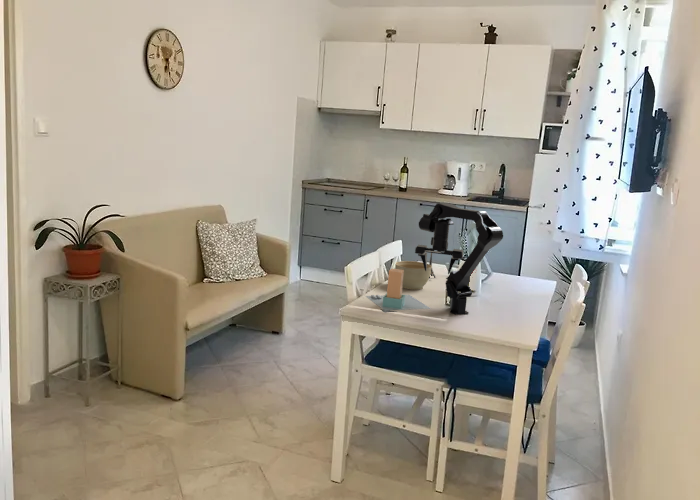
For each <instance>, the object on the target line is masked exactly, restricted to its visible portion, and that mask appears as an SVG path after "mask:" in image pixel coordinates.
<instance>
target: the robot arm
mask: <svg viewBox="0 0 700 500" xmlns="http://www.w3.org/2000/svg"><path fill="white" fill-rule="evenodd" d="M452 218H456V219H460V220H461V219H462V220H468V221H473V222H474V223H475V230H476V232H477V233H478V235H477V237H476V238H477V240H476V241H477V243H476V245H475V246H474V248H473V249H472V250H471V252H470V253H469V255H468V256H467V258H466V259H465V261H464V263H463V264H461V267H460V268H459V270H453V271H451V270H452V268H453V266H454V265H455V262H456V261H459V260H462V259H463V257H464V250H463V249H460V248H453V249H452V250H449V231H450V226H451V225H455V222H454V221H452ZM418 227H419V229H420V230H421V231H425V232H430V233H433V236H432V237H431V239H430V240H431V241H430V246H432V247H428V245H425V244H424V245H423V244H418V245H416V246H415V248H414V253H415V254H417V256H418V257H420V259H421V261H422V263H423V265H424V268H425V271H427V264H428V253H430V254H431V253H432V254H438V255H446V256H451V259H450V262H449V265H448V270H447V275H448V276H447V277H446V278H445V279H446V280H445V288H446V289H445V290H446V294H447V297H449V298H450V304H449V305H450V306H449V308H450V313H452V314H454V315H467V314H469V311H467V310H466V308H467V300H468V298H471V297H472V295H473V290H472V291H471V289H470V287H469V282H470V276H471V274H472V273H473V271H474V270H477V267H478V266H479V264H480V263H481V261H482V260H483V259H484V257H486V254H487V253H488V251H490V250H491V249H493V248H494V247H495V246H497V245H498V244H500V242H501V241H502V240H503V239H504V233H503V230H502V228H501V227H500V226H499V225H498V223H497V222H496V221H495V220H494V219H493V218H492V217H491V216H490V214H489V213H488V212H487V211H485V210H476V209H469V208H464V207H463V208H462V207H458V206H456V205H455V204H452V203H450V202H449V203H448V202H444V203H443V202H442V203H441V202H440V203H439V202H438V203H436V204H435V205H434V207H433V209H432V210H431V212H430V213H423V214H422V217H421V218H420V219H419V221H418Z"/></svg>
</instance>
